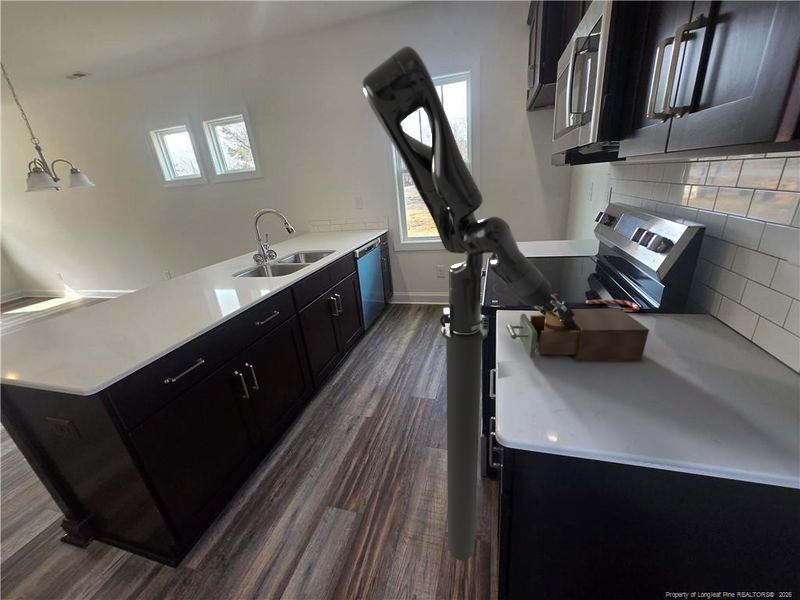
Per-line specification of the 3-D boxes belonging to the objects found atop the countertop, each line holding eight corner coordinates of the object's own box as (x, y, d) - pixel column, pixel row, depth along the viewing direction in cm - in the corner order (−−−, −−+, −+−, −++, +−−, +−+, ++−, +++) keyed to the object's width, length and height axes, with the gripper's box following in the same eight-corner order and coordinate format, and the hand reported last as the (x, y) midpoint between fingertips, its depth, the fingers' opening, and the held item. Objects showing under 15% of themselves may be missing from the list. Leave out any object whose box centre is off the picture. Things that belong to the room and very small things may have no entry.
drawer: (512, 356, 80) (514, 332, 77) (503, 335, 90) (504, 313, 88) (587, 357, 78) (591, 332, 75) (568, 335, 88) (572, 312, 86)
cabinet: (577, 361, 78) (582, 330, 74) (558, 337, 89) (562, 309, 86) (641, 361, 76) (649, 329, 73) (613, 336, 88) (619, 308, 84)
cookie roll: (547, 342, 79) (550, 314, 76) (540, 333, 84) (543, 306, 81) (569, 342, 78) (573, 314, 76) (561, 332, 83) (564, 306, 81)
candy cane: (585, 297, 112) (636, 300, 106) (584, 300, 112) (635, 304, 107) (587, 305, 105) (642, 309, 99) (587, 308, 106) (641, 313, 100)
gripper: (560, 276, 66) (596, 319, 74) (516, 263, 79) (550, 301, 86) (538, 304, 66) (575, 344, 74) (497, 287, 79) (532, 322, 87)
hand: (561, 320), depth 80 cm, fingers closed on cookie roll, 5 cm apart
